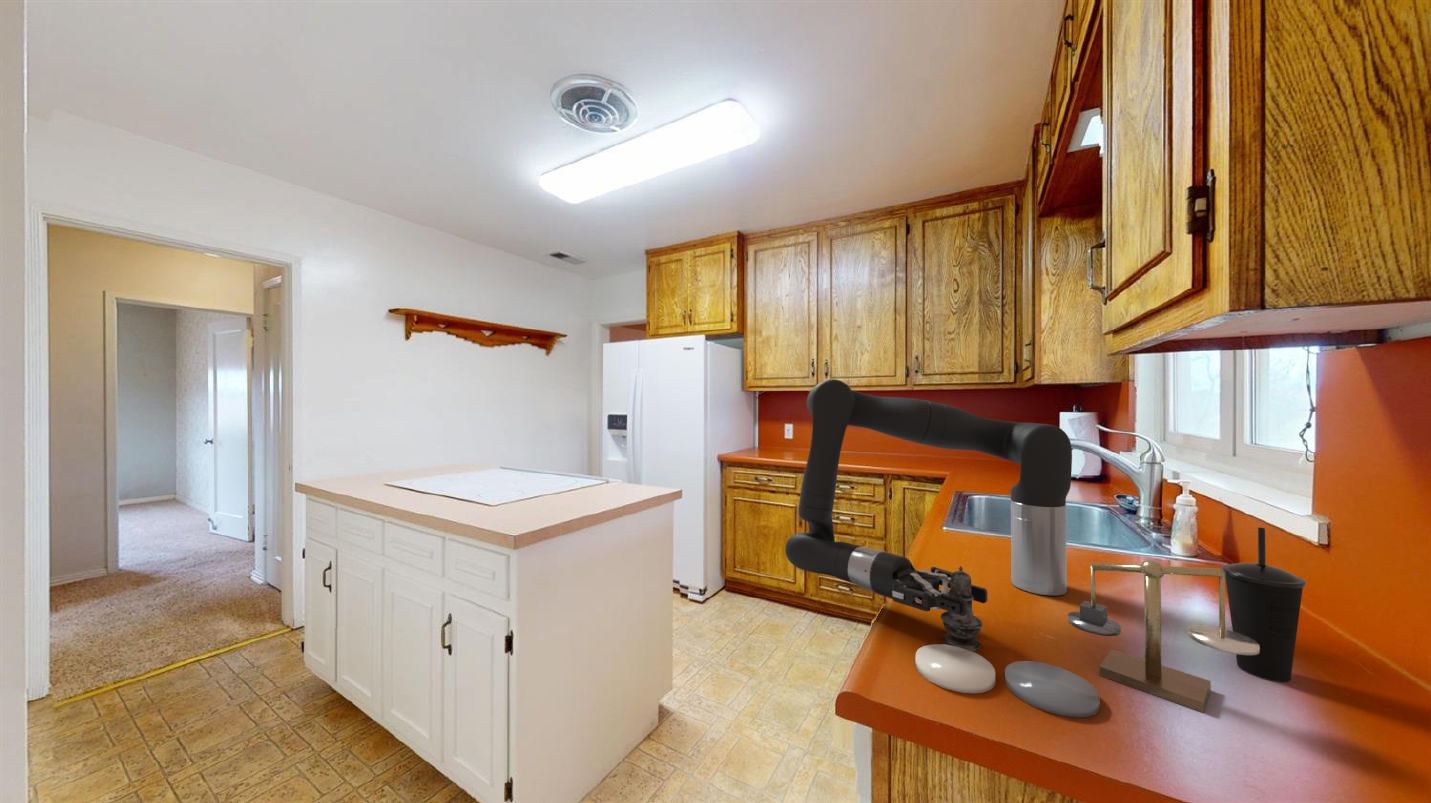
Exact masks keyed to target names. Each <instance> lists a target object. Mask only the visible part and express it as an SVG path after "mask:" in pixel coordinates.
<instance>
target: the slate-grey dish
mask: <svg viewBox="0 0 1431 803" xmlns="http://www.w3.org/2000/svg"><path fill="white" fill-rule="evenodd" d="M1004 681H1005V684H1006V686H1007V688H1008V689H1009V690H1010V692H1011V693H1012V694H1014V695H1015V697H1017V698H1018V699H1019V700H1021V701H1022V702H1025V703H1027V704H1028V705H1030V706H1033V707H1035V708H1036V709H1039V710H1041V711H1043V712H1044V711H1045V712H1047V713H1050V714H1053V715H1058V716H1061V717H1069V718H1089V717H1092V716H1094V715H1096V714H1098V712H1099V711H1100V704H1101V703H1100V694H1099V692H1098V690H1097V689H1096V688H1095V687H1094V685H1093V684H1091V683H1090V682H1089V681H1087V680H1086V679H1085V678H1082V677H1081V676H1079V675H1077V674H1075V672H1071V671H1070V670H1067V669H1064V668H1062V667H1059V666H1057V665H1056V666H1055V665H1053V664H1049V663H1044V662H1037V661H1030V660H1023V661H1022V660H1019V661H1015V662H1011V663H1010V664H1008V665H1006V667H1005V669H1004Z"/></svg>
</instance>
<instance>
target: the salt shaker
mask: <svg viewBox="0 0 1431 803" xmlns="http://www.w3.org/2000/svg"><path fill="white" fill-rule="evenodd" d="M963 570H964V568H963V566H961V565H960V566H959V567H958V570H957V571H954V572H953V571H952V574H951V591H950V592H949V593H948V595H950V596H953V597H956V598H959V599H962V600H965V601H966V602H967V610H968V613H967V614H966V615H965V616H961V615H958V614H955V613H952V612H949V611H944V612H942V613H941V614H940V618H941V620H942V623H943V626H944V629H945V630H946V632H948V633H946V634H944V635H943V636H942V640H943V643H945V645H951V646H956V647H960V648H963V649H966V650H969V651H972V652H974V651H978V650H979V649H981V646H982V645H981V643H980V641H979V640H977V639H976V637H978V636H979V634H980V632H981V628H982V627H983V621H982V620H981V619H980V618H979V617H977V616H975V615H974V612H973V601H974V600H973V599H974V596H973V595H972V594H971V585H972V578H971V576H970V575H969V574H968V573H967V572H965V571H963Z"/></svg>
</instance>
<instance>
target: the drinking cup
mask: <svg viewBox="0 0 1431 803" xmlns="http://www.w3.org/2000/svg"><path fill="white" fill-rule="evenodd" d="M1266 559H1267V558H1266V528H1265V527H1257V560H1258V561H1257V562H1238V563H1237V562H1236V563H1232V564H1230V563H1228V564H1225V565H1222V566H1221V570H1222V572H1223V573H1225V588H1226V592H1227V599H1228V600H1227V601H1228V607H1229V608H1228V609H1229V615H1230V621H1231V631H1234V632H1237V633H1239V634H1242V635H1245V636H1247V637H1249V638H1251V639H1253V640H1255V641H1256V642H1257V643H1258V644H1259V645H1260V653H1259V654H1257V655H1238V654H1235V657H1236V664H1237V667H1238V668H1239V669H1241V670H1242V671H1244V672H1246V673H1247V674H1250V675H1251V676H1255V677H1257V678H1261V679H1264V680H1268V681H1273V682H1280V683H1288V682H1290V681H1291V680H1292V679H1291V678H1292V674H1293V673H1292V672H1293V665H1294V664H1293V663H1294V657H1295V649H1296V641H1297V636H1298V635H1297V634H1298V628H1299V627H1298V626H1299V620H1300V619H1299V618H1300V610H1301V602H1302V597H1303V589H1304V588H1306V587H1307V580H1305V579H1304V578H1302V577H1300V576H1298V575H1295V574H1293V573H1291V572H1289V571H1287V570H1284V569H1282V568H1279V567H1276V566H1272V565H1269V564H1267V562H1266Z"/></svg>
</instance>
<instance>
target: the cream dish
mask: <svg viewBox="0 0 1431 803" xmlns="http://www.w3.org/2000/svg"><path fill="white" fill-rule="evenodd" d="M914 657H915V668H916V670H917V672H918V673H919V674H920V675H921V676H922V677H923V678H925V680H927V681H929V682H931V683H933V684H934V685H936V686H938V687H940V688H943V689H946V690H949V691H953V692H957V693H962V694H982V693H983V694H984V693H987V692H989V691H991V690H992V689H993V688H995V686H996V669H995V668H994V665H993V664H992V663H991V662H990V661H988V660H987V659H986V658H984V657H983V656H982V655H980V654H979V653H976V652H974V651H969V650H966V649H963V648H960V647H956V646H951V645H948V644H942V643H941V644H939V643H938V644H937V643H936V644H935V643H933V644H927V645H923V646H921V647H919V648H918V649H917V651H916V652H915V656H914Z"/></svg>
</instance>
